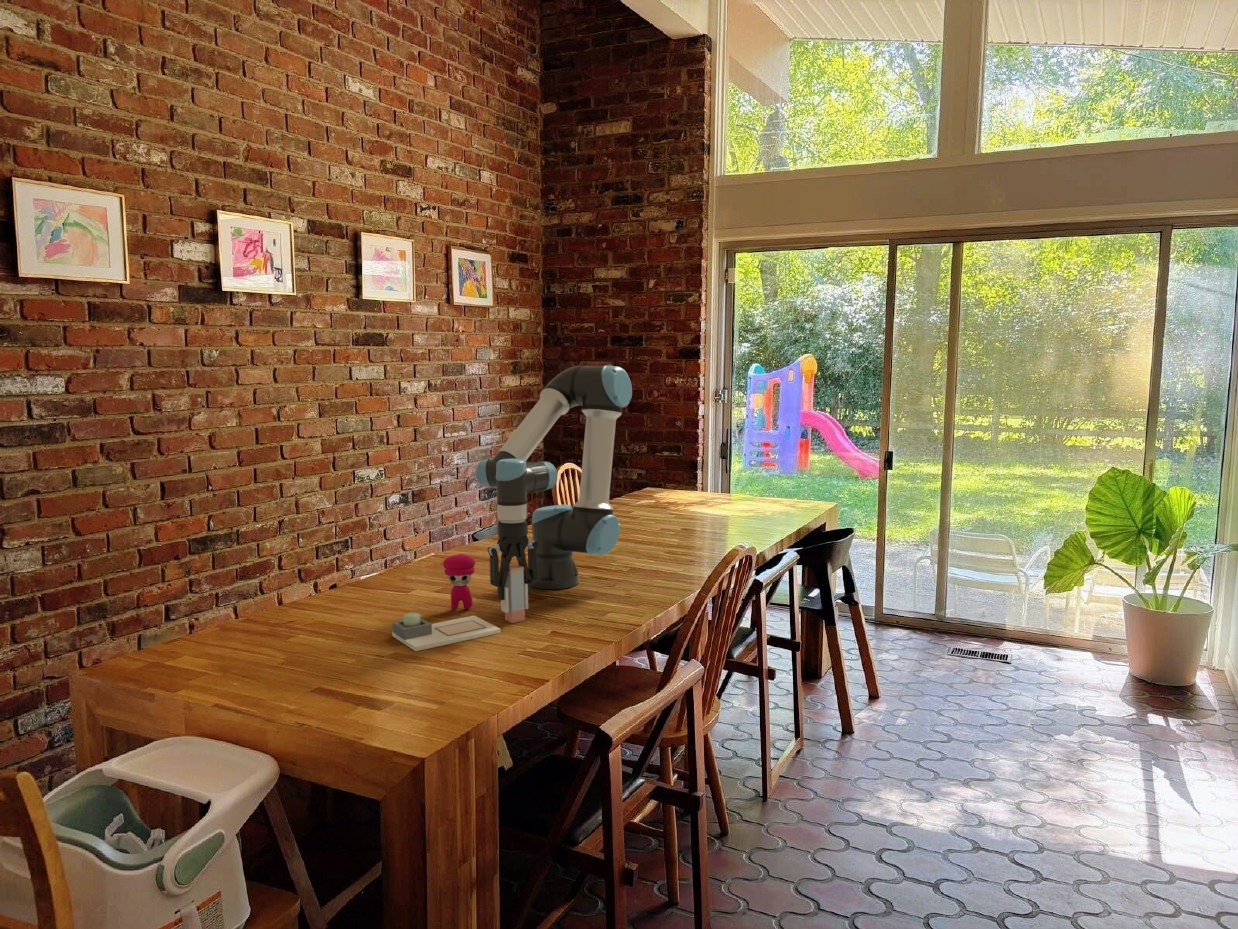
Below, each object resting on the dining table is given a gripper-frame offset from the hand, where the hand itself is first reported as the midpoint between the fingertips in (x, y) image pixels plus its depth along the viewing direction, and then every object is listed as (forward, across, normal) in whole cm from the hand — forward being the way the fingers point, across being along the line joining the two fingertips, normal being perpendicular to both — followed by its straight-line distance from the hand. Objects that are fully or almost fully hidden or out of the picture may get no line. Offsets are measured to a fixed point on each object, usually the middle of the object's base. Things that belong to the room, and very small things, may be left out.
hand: (514, 609), depth 225 cm
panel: (+3, +19, 0) cm, 19 cm away
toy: (+3, +7, -17) cm, 19 cm away
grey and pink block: (+3, 0, 0) cm, 3 cm away
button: (0, +26, -3) cm, 27 cm away
